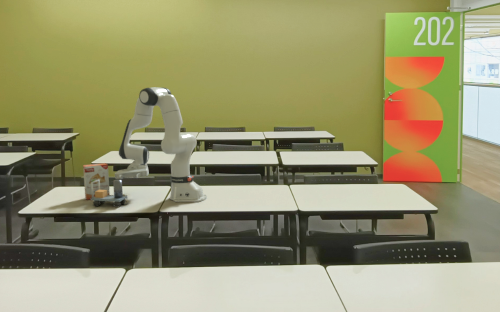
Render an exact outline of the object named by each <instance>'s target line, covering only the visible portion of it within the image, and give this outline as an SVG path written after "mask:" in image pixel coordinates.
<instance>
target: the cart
mask: <svg viewBox="0 0 500 312" xmlns="http://www.w3.org/2000/svg"><path fill="white" fill-rule="evenodd" d="M97 181H98V190H100V180H99V179H98V180H95V181H93V182H91V191H92V198H91V199H90V201H93V202H92V205H93V206H94V207H98V206H100V205H101V204H104V203H106V202H113V207H114V208H119V207H120V206H121V205H124V204H126V199H127V198H128V195H123V198H118V199H116V198H114V194H110V195H107V196H106V197H104V198H95V197H94V193H93V183H95V182H97Z"/></svg>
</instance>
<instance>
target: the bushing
mask: <svg viewBox="0 0 500 312" xmlns="http://www.w3.org/2000/svg"><path fill="white" fill-rule="evenodd" d="M112 183H113V195H114V198H116V199H118V198H123V196H124V194H123V179H115V180H112Z"/></svg>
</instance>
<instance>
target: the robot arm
mask: <svg viewBox="0 0 500 312" xmlns="http://www.w3.org/2000/svg"><path fill="white" fill-rule="evenodd" d="M155 106H158V108H159V109H160V111H161V113H160V114H161V116H162V121H163V125H164V136H163V138H162V140H161V142H160V148H161V151H162V152H163V153H165V154H166V155H174V158H173V159H172V160H171V162H170V173H171V175H170V185H171V186H170V187H171V188H170V190H171V191H170V195H169V199H170V200H171V201H173V202H175V203H178V202H179V203H188V202H189V203H191V202H193V203H194V202H195V203H198V202H199V203H200V202H202V201H204V200H206V199H207V198H208V196H207V194H204V190H203V187H202V186H201V185H199V184H198V183H196V182H195V181H194V175H191V174H190V172H191V171H190V170H191V169H190V163H191V162H190V161H191V157H192V153H193V151H194V149H195V148H196V147H197V144H198V143H197V142H198V141H197V137H196V136H195V135H194V134H192V133H181V127H182V126H183V124H184V120H183V117H182V114H181V110H180V106H179V103H178V101H177V99H176V97H175V96H174V95H173V94H172V92H171V90H170V89H168V88H167V87H157V86H154V87H153V86H152V87H144V88H143V89H141V90H140V91H139V94H138V98H137V100H136V103H135V108H134V114H133V117H132V118H130V119H128V122H127V124H126V127H125V129H124V133H123V137H122V140H121V143H120V145H119V149H118V155H119V157H120V158H121V159H122V160H131V161H132V162H131V163H130V164H129V165H128V166H127V168H125V169H119V170H117V171H116V172H114V178H115V180H123V179H129V178H130V179H132V178H135V179H138V178H139V177H142V178H143V177H148V176H149V174H150V173H149V167H148V164H147V163H148V161H149V159H150V151H149V149H148V148H147V146H143V145H138V144H131V143H130V142H131V141H130V140H131V139H132V138H131V137H132V133H133V131H135V130H139V129H143V128H146V127H148V126H150V124H151V123H152V120H153V114H154V112H153V111H154V108H155Z"/></svg>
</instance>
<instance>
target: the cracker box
mask: <svg viewBox="0 0 500 312" xmlns="http://www.w3.org/2000/svg"><path fill="white" fill-rule="evenodd" d="M82 166H83V168H82V169H83V184H84V195H85V196H84V198H85V200H87V201H88V200H91V198H92V191H91V182H93V181H95V180H98V179H99V180H100V190H107V195H111V194H110V181H109V178H110V177H109V165H108V163H105V162H104V163H92V164H83V165H82ZM97 190H98V181H97V182H95V183H93V193H94V197H95V191H97Z"/></svg>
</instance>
